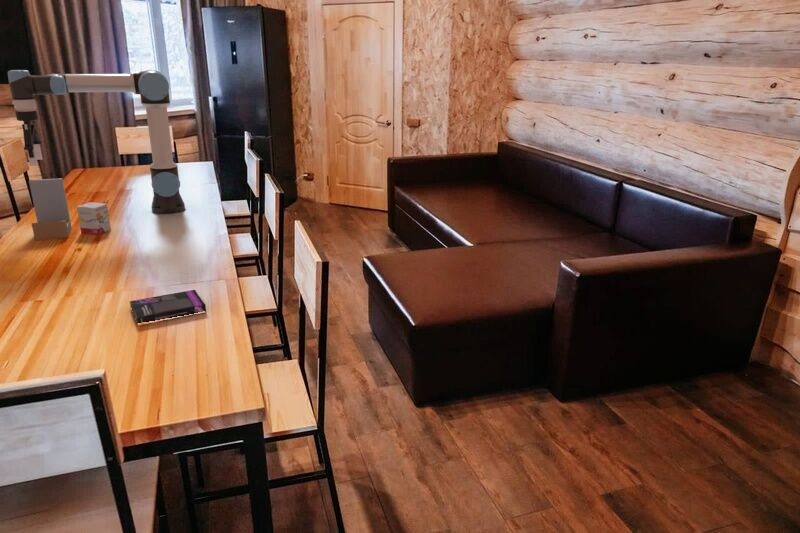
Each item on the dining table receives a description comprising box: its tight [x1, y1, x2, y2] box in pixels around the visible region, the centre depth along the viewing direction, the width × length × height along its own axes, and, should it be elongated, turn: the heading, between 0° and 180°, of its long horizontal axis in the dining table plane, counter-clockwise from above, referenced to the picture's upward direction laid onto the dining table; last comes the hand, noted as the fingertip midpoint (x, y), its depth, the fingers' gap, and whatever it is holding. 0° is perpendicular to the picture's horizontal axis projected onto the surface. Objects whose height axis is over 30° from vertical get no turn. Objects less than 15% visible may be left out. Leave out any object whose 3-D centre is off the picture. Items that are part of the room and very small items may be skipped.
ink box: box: [76, 201, 112, 236], centre depth 245 cm, size 9×9×12 cm
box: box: [129, 289, 207, 324], centre depth 175 cm, size 14×4×20 cm
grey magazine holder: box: [28, 177, 73, 241], centre depth 238 cm, size 12×13×22 cm
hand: (36, 162), depth 242 cm, fingers open, 13 cm apart
